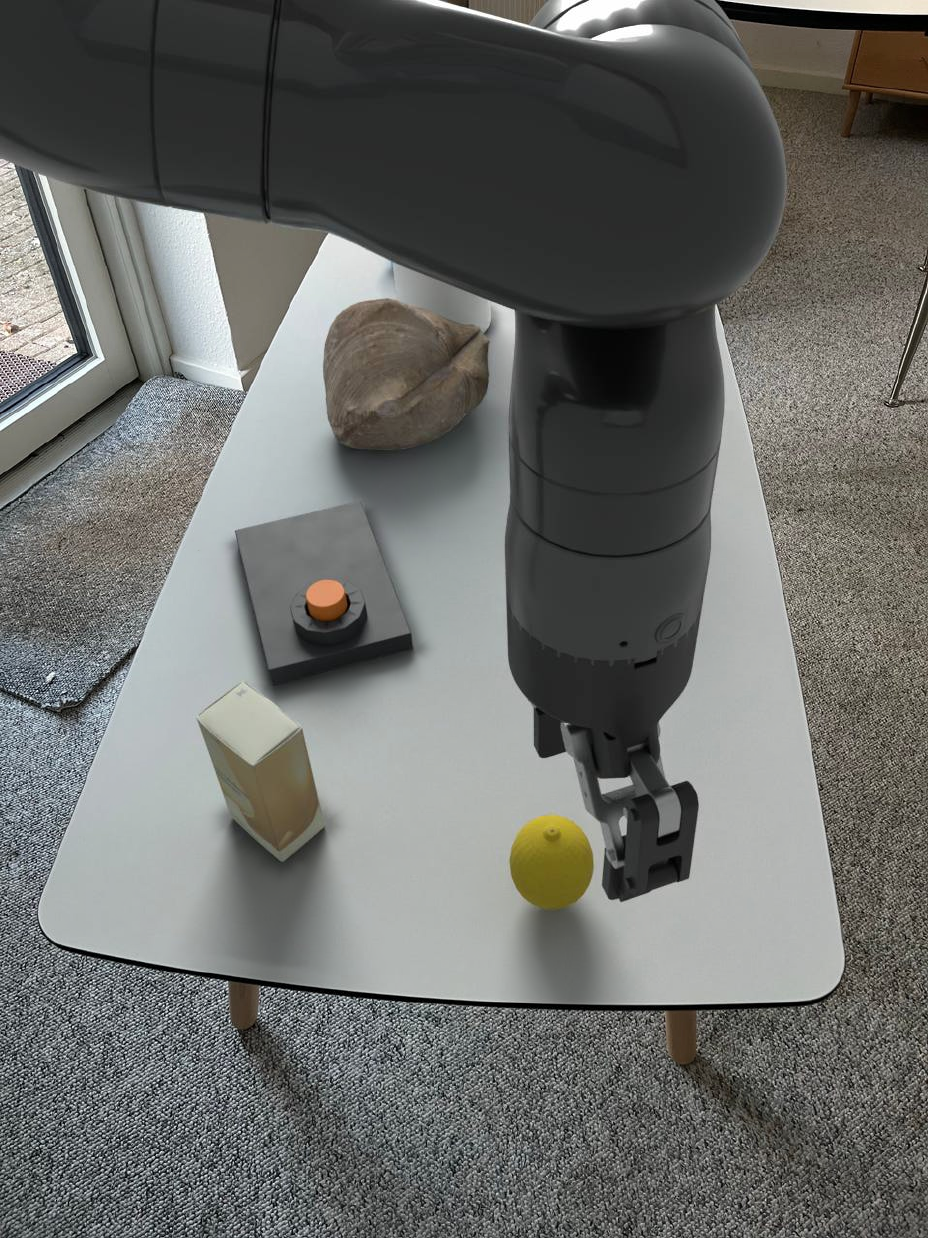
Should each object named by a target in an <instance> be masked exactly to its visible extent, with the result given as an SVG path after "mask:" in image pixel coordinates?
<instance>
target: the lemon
mask: <svg viewBox="0 0 928 1238" xmlns="http://www.w3.org/2000/svg"><path fill="white" fill-rule="evenodd" d="M594 868H595V865H594V853H593V849H592V846H591V843H590V841H589V838H588V836H587V835H586V833H585V832H584V831H583V829H582V828H581V827H580V825H578V824H577V823H576V822H575V821H573V820H571V819H569V818H567V817H565V816H561V815H557V814H545V815H540V816H538V817H535V818H533V819H531V820H529V821H528V822H527V823H526V824H524V825H523V826H522V828H521V829H520V830H519V831H518V833H517V834H516V837H515V839H514V841H513V843H512V844H511V849H510V855H509V870H510V876H511V880H512V881H513V885H514V887H515V889H516V891H517V892H518V893H519V895H521V897H522V898H523V899H524V900H526V901H527V902H528V903H530V904H531V905H532V906H535V907H537V908H539V909H543V910H549V911H553V910H554V911H555V910H561V909H565V908H568V907H570V906H572V905H574V904H575V903H577V902H578V901H579V900H580V899H581V898H582V897H583V896H584V894H586V891H587V890H588V888H589V887H590V885H591V882H592V878H593V875H594V874H593V873H594Z"/></svg>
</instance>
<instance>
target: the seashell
mask: <svg viewBox="0 0 928 1238" xmlns="http://www.w3.org/2000/svg"><path fill="white" fill-rule="evenodd" d="M323 347H324V348H323V360H322V361H323V362H322V376H323V383H324V388H325V389H324V390H325V405H326V415H327V420H328V423H329V426H330V428H331V431H332V433H333V435H334V437H335V439H336V441H337V442H338V443H341V444H343V445H345V446H346V447H348V448H351V449H356V450H375V451H378V450H379V451H395V450H405V449H411V448H415V447H419V446H422V445H426V444H427V443H430V442H433V441H435V440H437V439H438V438H439V439H440V438H441V437H442V436H444V435H446V434H447V433H449V432H450V431H451V430H452V429H454V428H455V427H456V426H457V425H458V424H459V423H460V422H461V421H462V420H463V419H464V418H465V416H466V415H468V414H469V413H472V412H473V411H474V410H475V409H476V408H478V407H479V406H481V404H482V402H483V401H484V399H485V398H486V395H487V393H488V390H489V386H490V385H489V384H490V369H489V347H490V339H489V338H488V337H486V335H485V334H484V333H483V332H482V331H481V330H480V327H479V326H476V325H473V324H469V325H464V324H460V323H457V322H454V321H451V320H449V319H446V318H444V317H442V316H439V315H437V314H436V313H433V312H431V311H429V310H426V309H422V308H418V307H412V306H409V305H407V304H404V303H402V302H400V301H397V299H394V298H388V297H387V298H385V297H384V298H378V299H377V298H376V299H370V300H363V301H359V302H356V303H353V304H351V305H350V306H348V307H346V308H345V309H342V311H340V312H339V313H338V314H337V315H336V317H335V319H334V320H333V321H332V323H331V325H330V326H329V328H328V333H327V336H326V338H325V342H324V346H323Z"/></svg>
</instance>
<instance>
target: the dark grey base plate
mask: <svg viewBox="0 0 928 1238" xmlns="http://www.w3.org/2000/svg"><path fill="white" fill-rule="evenodd" d="M234 533H235V539H236V542H237V547H238V550H239V555H240V559H241V563H242V567H243V572H244V575H245V580H246V585H247V588H248V593H249V596H250V601H251V604H252V609H253V613H254V618H255V622H256V626H257V629H258V633H259V638H260V641H261V645H262V650H263V654H264V658H265V662H266V667H267V671H268V674H269V679H270V681H271V684H272V685H274V686H275V685H278V684H282V683H286V682H289V681H290V682H291V681H294V680H297V679H301V678H304V677H308V676H312V675H316V674H320V673H324V672H327V671H328V672H329V671H331V670H335V669H339V668H343V667H347V666H349V665H354V664H358V663H362V662H365V661H370V660H372V659H377V658H381V657H385V656H388V655H392V654H396V653H400V652H404V651H408V650H412V649H414V644H413V643H414V642H413V637H412V636H413V635H412V631H411V629H410V626H409V623H408V621H407V618H406V616H405V613H404V610H403V608H402V604H401V601H400V600H399V597H398V595H397V592H396V589H395V586H394V584H393V581H392V578H391V577H390V574H389V571H388V568H387V565H386V563H385V560H384V557H383V554H382V553H381V549H380V547H379V544H378V541H377V539H376V536H375V533H374V530H373V528H372V526H371V523H370V520H369V518H368V515H367V512H366V509H365V507H364V505H363V501H362V500H357V501H356V500H355V501H352V502H349V503H344V504H340V505H336V506H331V507H327V508H323V509H319V510H315V511H311V512H306V513H302V514H298V515H297V514H296V515H294V516H289V517H285V518H281V519H277V520H272V521H268V522H264V523H260V524H255V525H251V526H248V527H243V528H239V529H235V530H234ZM321 580H334V581H337V582H339V583H340V584H341V585H342V586H343V587H344V590H345V595H346V601H347V609H346V611H345V613H344V614H343V615H342V616H341V617H339V618H337V619H335V620H332V621H319V620H317V619H315V618H313V617H312V616H311V614H310V612H309V609H308V604H307V600H306V592H307V590H308V588H309V587H310V586H311V585H312V584H314V583H316V582H318V581H321Z"/></svg>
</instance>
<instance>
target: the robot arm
mask: <svg viewBox="0 0 928 1238" xmlns="http://www.w3.org/2000/svg"><path fill="white" fill-rule="evenodd" d="M745 49H746V48H745V47H744V44H743V43H742V40H741V39H740V36H739V34H738V32H737V30H736V28H735V27H734V24H733V23H732V21H731V20H730V18H729V17H728V16H727V14H726V13H725V11H724V10H723V9H722V7H721V6H720V5H719V4H718V3H717V2H716V0H547V1H546V3H545V4H543V6H542V7H541V8H540V9H539V11H538V12H537V13H536V14H535V16H534V17H533V18H532V20H531V21H530V23H528V24H527V23H523V22H520V21H516V20H512V19H510V18H509V19H508V18H505V17H502V16H498V15H494V14H490V13H487V12H483V11H480V10H475V9H472V8H468V7H464V6H461V5H457V4H453V3H451V2H447V1H444V0H0V159H2V160H4V161H6V162H9V163H11V164H13V165H15V166H18V167H21V168H23V169H26V170H28V171H30V172H33V173H35V174H38V175H40V176H44V177H47V178H49V179H51V180H54V181H58V182H60V183H64V184H67V185H70V186H73V187H77V188H80V189H84V190H86V191H87V190H88V191H90V192H95V193H98V194H102V195H106V196H111V197H114V198H119V199H124V200H128V201H132V202H138V203H142V204H149V205H154V206H159V207H163V208H172V209H177V210H182V211H187V212H193V213H200V214H205V215H211V216H217V217H221V218H229V219H235V220H240V221H246V222H251V223H258V224H262V225H263V224H265V225H267V224H270V223H272V224H273V226H275V227H282V228H288V229H297V230H306V231H307V230H309V231H316V232H317V231H318V232H322V233H326V234H330V235H333V236H336V237H338V238H341V239H343V240H345V241H347V242H350V243H353V244H355V245H357V246H359V247H361V248H363V249H365V250H366V251H369V252H371V253H373V254H375V255H377V256H379V257H381V258H383V259H386V260H388V261H389V262H391V261H392V262H394V263H396V264H398V265H401V266H403V267H405V268H408V269H410V270H413V271H416V272H418V273H421V274H423V275H426V276H429V277H431V278H434V279H436V280H439V281H441V282H444V283H446V284H449V285H451V286H454V287H456V288H459V289H461V290H464V291H466V292H469V293H471V294H474V295H476V296H479V297H481V298H484V299H486V300H489V301H490V302H492V303H495V304H497V305H500V306H502V307H505V308H507V309H509V310H514V328H515V332H514V348H513V349H514V351H513V360H512V361H513V362H512V371H511V381H510V382H511V383H510V393H509V404H508V461H509V462H508V464H509V466H508V468H509V469H508V471H509V502H508V503H509V505H508V510H507V516H506V522H505V531H504V571H505V573H504V574H505V601H506V602H505V603H506V605H505V606H506V607H505V608H506V636H507V637H506V639H507V640H506V641H507V660H508V666H509V671H510V673H511V676H512V679H513V680H514V682H515V684H516V686H517V687H518V689H519V690H520V692H521V693H522V694H523V696H524V697H525V698H526V699H527V701H528V702H529V703H530V705H531V707H532V708H533V747H534V749H535V751H536V753H537V755H538V757H539V758H540V759H548V758H551V757H555V756H557V755H561V754H565V753H567V754H568V756H570V757H571V758H572V759H573V761H574V762H573V763H574V767H575V772H576V775H577V779H578V783H579V788H580V792H581V797H582V800H583V804H584V809H585V811H587V813H588V814H589V815H591V817H593V818H594V819H595V820H596V821H597V822H598V823H599V824H600V828H601V833H602V837H603V842H604V846H605V847H604V854H603V866H602V877H601V887H602V888H603V891H604V893H605V895H606V897H607V898H608V900H610V901H615V900H618V901H619V902H620V903H623V902H627V901H629V900H631V899H635V898H638V897H640V896H644V895H646V894H649V893H650V892H652V891H654V890H658V889H660V888H663V887H665V886H669V885H672V884H674V883H680V882H684V881H687V880H689V879H690V876H691V875H690V874H691V869H692V862H693V854H694V847H695V846H694V845H695V837H696V831H697V823H698V816H699V810H700V809H699V808H700V803H699V796H698V793H697V790H696V789H695V788H694V786H693V785H692V783H691V782H690V781H688V780H684V781H681V782H679V783H675V784H671V785H670V784H669V782H668V780H667V779H666V775H665V770H664V766H663V761H662V757H661V744H660V736H661V726H660V721H661V719H662V718H663V717H664V715H665V714H666V713H667V712H668V710H670V708H671V707H672V706H673V705H674V704H675V702H677V700H678V699H679V698H680V697H681V695H682V693H684V690H685V689H686V687H687V685H688V683H689V681H690V678H691V675H692V672H693V666H694V660H695V654H696V648H697V641H698V636H699V629H700V623H701V622H700V621H701V616H702V611H703V610H702V609H703V605H704V598H705V597H704V596H705V590H706V586H707V579H708V574H709V573H708V572H709V567H710V565H709V564H710V560H711V554H712V553H711V551H712V517H711V515H712V514H711V512H712V502H713V501H712V500H713V495H714V490H715V489H714V488H715V482H716V476H717V469H718V464H719V456H720V451H721V443H722V435H723V434H722V433H723V426H724V418H725V405H726V404H725V403H726V401H725V398H726V397H725V393H726V392H725V377H724V368H723V361H722V360H723V359H722V355H721V350H720V345H719V339H718V333H717V325H716V305H718V304H721V302H723V301H724V300H726V299H728V298H729V297H730V296H732V295H733V294H734V293H735V292H736V291H737V290H739V289H740V288H741V287H742V286H743V285H744V284H745V283H746V282H747V281H748V280H749V279H750V278H751V277H752V276H753V274H754V273H756V271H757V270H758V268H759V267H760V266H761V264H762V263H763V262H764V261H765V258H766V257H767V255H768V254H769V252H770V250H771V249H772V246H773V243H774V242H775V239H776V237H777V235H778V233H779V229H780V226H781V224H782V220H783V216H784V211H785V207H786V202H787V201H786V199H787V192H788V187H787V185H788V175H787V163H786V160H787V159H786V152H785V147H784V141H783V138H782V134H781V132H780V127H779V125H778V123H777V119H776V117H775V114H774V112H773V110H772V107H771V105H770V103H769V100H768V99H767V96H766V94H765V92H764V90H763V88H762V86H761V84H760V82H759V80H758V77H757V75H756V73H755V69H754V68H753V65H752V63H751V61H750V58H749V56H748V54H747V52H746V50H745ZM628 777H629V778H630V780H631V783H632V784H631V785H627V786H624V787H621V788H618V789H615V790H612V791H609V792H605V793H602V790H601V786H600V782H599V779H601V780H606V779H609V780H610V779H627V778H628ZM622 817H624V818H625V819H626V831H625V832H626V833H625V834H624V835H622V832H621V827H620V820H621V818H622Z"/></svg>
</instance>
